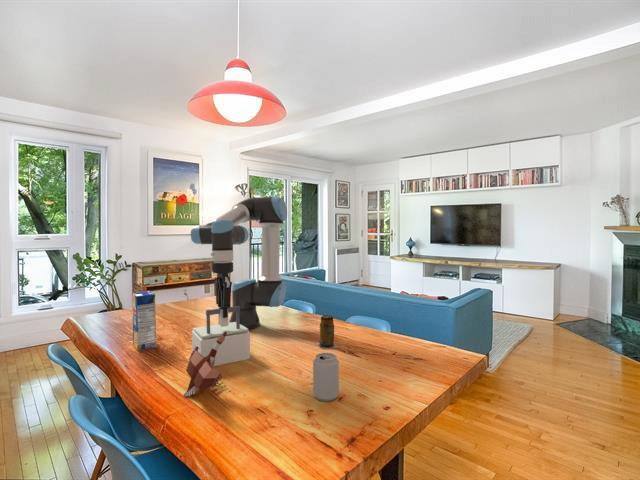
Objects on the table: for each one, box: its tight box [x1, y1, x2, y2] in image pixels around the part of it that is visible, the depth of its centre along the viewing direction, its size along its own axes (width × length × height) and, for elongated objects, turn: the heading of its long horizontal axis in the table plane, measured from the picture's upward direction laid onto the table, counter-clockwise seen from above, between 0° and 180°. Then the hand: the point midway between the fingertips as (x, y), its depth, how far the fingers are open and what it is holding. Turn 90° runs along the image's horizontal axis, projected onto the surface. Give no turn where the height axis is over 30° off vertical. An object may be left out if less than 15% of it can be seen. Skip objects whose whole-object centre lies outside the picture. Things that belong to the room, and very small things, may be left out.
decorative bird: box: [183, 332, 227, 398], centre depth 106 cm, size 28×18×15 cm, turn 33°
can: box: [312, 352, 340, 402], centre depth 102 cm, size 8×8×12 cm
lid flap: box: [192, 306, 250, 339], centre depth 133 cm, size 17×14×9 cm
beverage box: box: [131, 290, 157, 352], centre depth 146 cm, size 7×11×22 cm, turn 36°
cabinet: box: [191, 330, 251, 367], centre depth 133 cm, size 18×14×10 cm
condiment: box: [316, 314, 339, 350], centre depth 147 cm, size 7×8×12 cm
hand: (223, 325), depth 129 cm, fingers closed on lid flap, 2 cm apart
